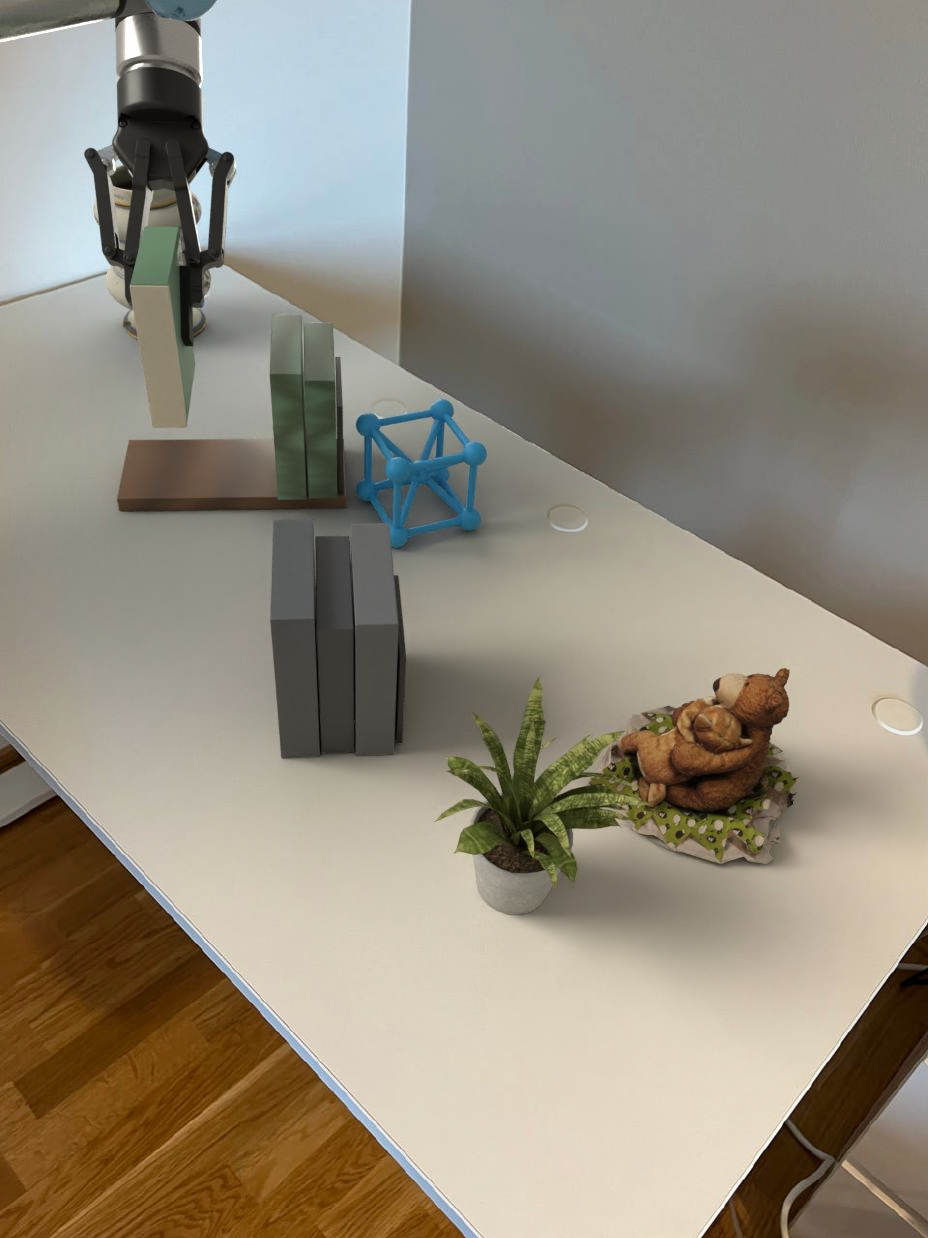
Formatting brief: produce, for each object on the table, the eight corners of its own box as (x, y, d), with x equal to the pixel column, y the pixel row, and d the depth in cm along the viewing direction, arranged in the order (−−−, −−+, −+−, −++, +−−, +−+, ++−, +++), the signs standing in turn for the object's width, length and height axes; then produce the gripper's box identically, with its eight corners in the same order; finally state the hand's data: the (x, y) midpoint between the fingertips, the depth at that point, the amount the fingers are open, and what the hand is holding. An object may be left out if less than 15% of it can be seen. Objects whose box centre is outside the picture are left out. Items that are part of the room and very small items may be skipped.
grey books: (281, 759, 83) (270, 620, 73) (283, 656, 91) (273, 518, 81) (403, 754, 84) (409, 617, 74) (394, 653, 92) (399, 516, 82)
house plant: (515, 1035, 68) (546, 897, 57) (366, 899, 75) (367, 751, 64) (645, 897, 76) (694, 752, 65) (500, 785, 83) (523, 636, 72)
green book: (152, 429, 97) (129, 285, 87) (163, 364, 105) (143, 225, 95) (187, 429, 97) (168, 285, 88) (196, 364, 105) (179, 226, 96)
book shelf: (118, 514, 103) (90, 373, 93) (131, 448, 111) (107, 311, 101) (346, 511, 106) (345, 374, 96) (343, 447, 114) (342, 314, 103)
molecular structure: (389, 554, 102) (390, 469, 95) (352, 494, 108) (352, 410, 101) (483, 532, 105) (492, 448, 98) (443, 475, 112) (448, 392, 105)
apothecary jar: (97, 313, 131) (69, 164, 118) (188, 291, 137) (170, 146, 124) (139, 358, 124) (114, 205, 112) (232, 332, 130) (219, 184, 117)
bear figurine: (630, 695, 91) (658, 589, 82) (804, 762, 87) (852, 657, 78) (572, 812, 81) (597, 706, 73) (764, 893, 77) (813, 790, 69)
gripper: (253, 107, 102) (259, 353, 101) (77, 101, 100) (83, 352, 99) (246, 65, 94) (253, 330, 94) (57, 58, 92) (63, 329, 92)
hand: (166, 341), depth 96 cm, fingers closed on green book, 3 cm apart
